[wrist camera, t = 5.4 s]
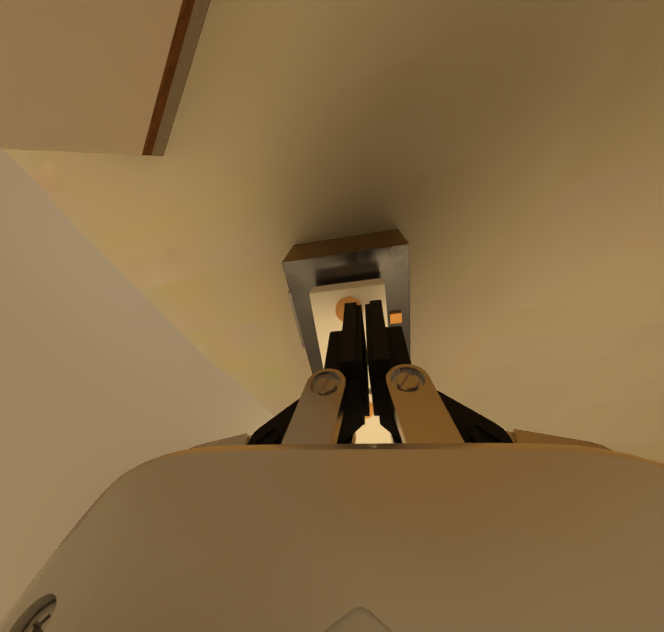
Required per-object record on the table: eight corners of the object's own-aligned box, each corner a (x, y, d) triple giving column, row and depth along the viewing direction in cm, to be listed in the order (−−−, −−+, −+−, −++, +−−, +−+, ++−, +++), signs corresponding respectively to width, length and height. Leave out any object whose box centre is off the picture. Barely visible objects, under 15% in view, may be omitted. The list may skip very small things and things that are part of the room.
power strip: (288, 246, 20) (274, 265, 16) (397, 229, 19) (410, 245, 15) (340, 452, 34) (339, 487, 30) (404, 450, 33) (412, 486, 29)
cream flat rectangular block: (335, 384, 21) (333, 398, 19) (388, 380, 20) (391, 394, 19) (346, 449, 23) (345, 466, 21) (394, 447, 23) (397, 464, 21)
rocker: (313, 286, 16) (308, 294, 15) (381, 277, 16) (384, 284, 14) (329, 377, 19) (327, 392, 17) (389, 372, 18) (393, 388, 17)
